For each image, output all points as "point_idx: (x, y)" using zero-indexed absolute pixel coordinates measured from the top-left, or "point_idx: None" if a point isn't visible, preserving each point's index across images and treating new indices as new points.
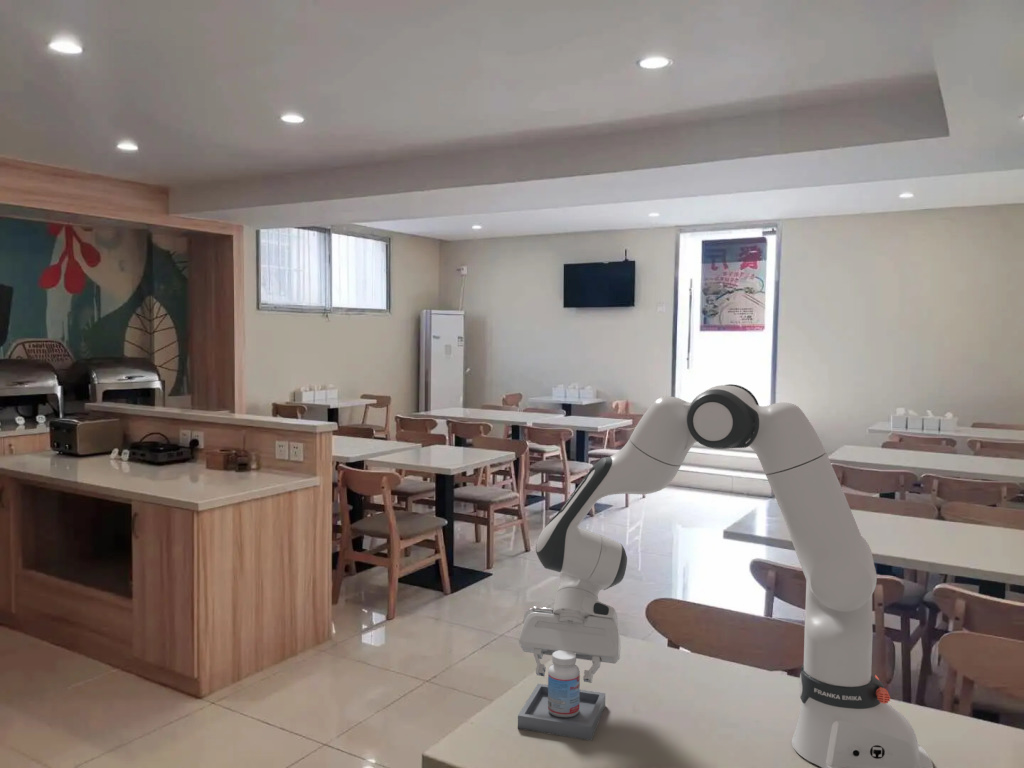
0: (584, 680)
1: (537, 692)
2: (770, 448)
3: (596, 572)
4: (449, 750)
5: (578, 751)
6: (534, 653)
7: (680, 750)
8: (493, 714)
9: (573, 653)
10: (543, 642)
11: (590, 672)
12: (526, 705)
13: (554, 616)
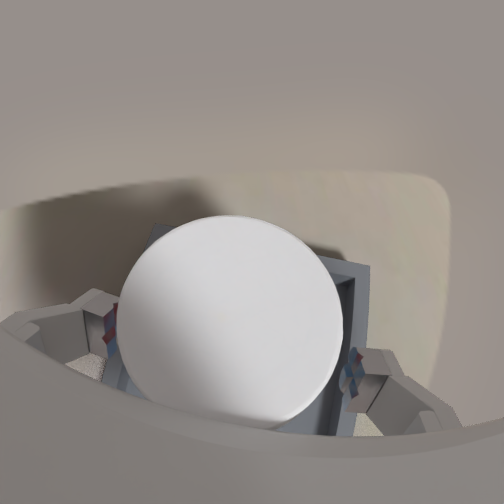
0: None
1: (337, 430)
2: None
3: None
4: (435, 196)
5: (199, 199)
6: (450, 410)
7: (20, 227)
8: (424, 340)
9: (133, 347)
10: (451, 460)
11: (80, 301)
12: (360, 330)
13: None
